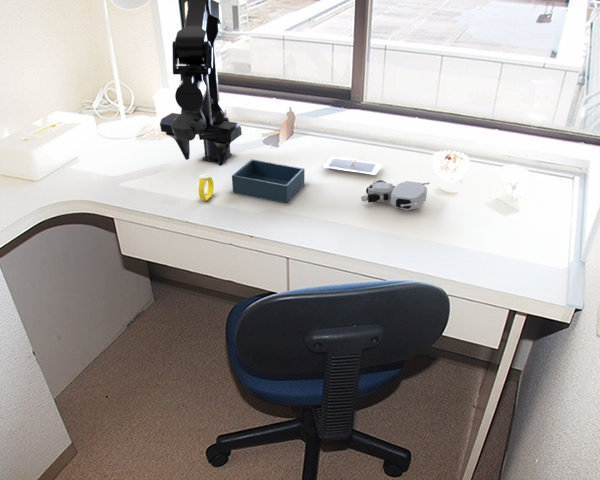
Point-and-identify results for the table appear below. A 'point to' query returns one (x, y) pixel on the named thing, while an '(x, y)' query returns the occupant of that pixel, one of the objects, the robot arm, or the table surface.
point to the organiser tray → (268, 180)
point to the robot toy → (397, 194)
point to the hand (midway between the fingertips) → (204, 162)
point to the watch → (202, 183)
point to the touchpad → (352, 165)
